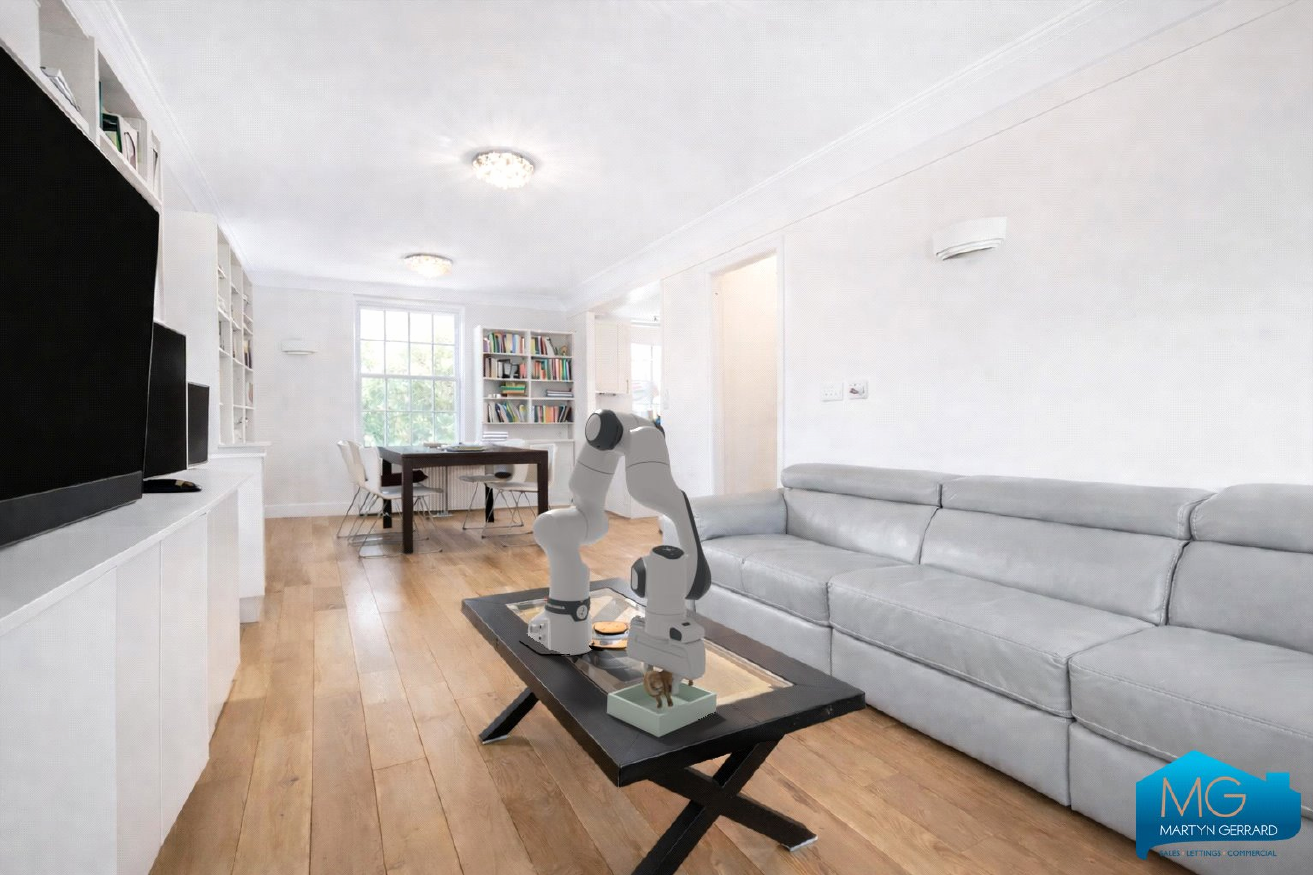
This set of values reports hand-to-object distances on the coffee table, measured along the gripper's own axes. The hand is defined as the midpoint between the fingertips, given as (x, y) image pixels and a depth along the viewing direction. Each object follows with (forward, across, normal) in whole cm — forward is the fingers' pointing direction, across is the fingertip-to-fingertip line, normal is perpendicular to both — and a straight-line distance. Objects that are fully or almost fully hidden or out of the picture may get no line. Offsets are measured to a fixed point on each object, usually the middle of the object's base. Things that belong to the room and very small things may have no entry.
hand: (662, 688), depth 135 cm
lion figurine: (+2, +2, +2) cm, 4 cm away
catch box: (+5, 0, 0) cm, 5 cm away
